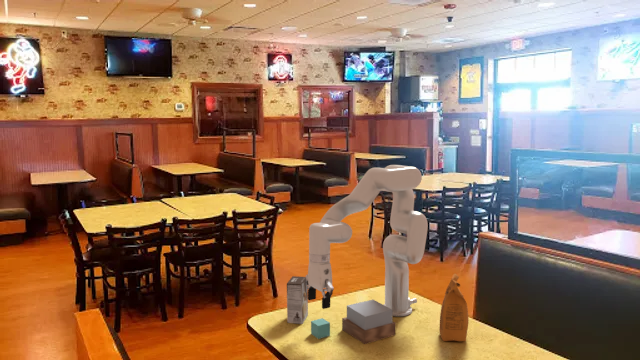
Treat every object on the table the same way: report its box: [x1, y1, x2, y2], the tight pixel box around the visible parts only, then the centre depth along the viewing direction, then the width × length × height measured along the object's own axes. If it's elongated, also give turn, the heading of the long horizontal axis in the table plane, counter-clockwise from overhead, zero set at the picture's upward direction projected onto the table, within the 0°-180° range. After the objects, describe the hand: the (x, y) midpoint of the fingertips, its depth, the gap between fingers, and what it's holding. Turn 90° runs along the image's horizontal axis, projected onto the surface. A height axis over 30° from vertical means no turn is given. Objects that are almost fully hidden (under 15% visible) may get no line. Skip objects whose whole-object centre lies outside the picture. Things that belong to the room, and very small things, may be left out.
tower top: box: [346, 299, 393, 330], centre depth 180 cm, size 12×12×5 cm
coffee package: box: [439, 273, 469, 342], centre depth 176 cm, size 10×12×22 cm
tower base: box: [341, 316, 397, 345], centre depth 181 cm, size 14×14×5 cm
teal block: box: [310, 317, 331, 340], centre depth 179 cm, size 5×5×5 cm
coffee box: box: [286, 275, 309, 325], centre depth 192 cm, size 9×6×16 cm
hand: (318, 303), depth 177 cm, fingers open, 9 cm apart
